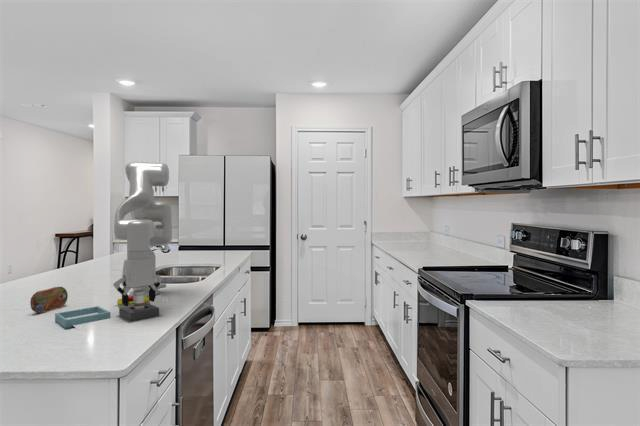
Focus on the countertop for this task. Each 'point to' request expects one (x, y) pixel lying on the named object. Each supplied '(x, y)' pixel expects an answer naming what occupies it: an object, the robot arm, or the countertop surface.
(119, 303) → the emergency button
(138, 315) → the fuse panel
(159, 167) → the robot arm
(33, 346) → the countertop surface
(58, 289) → the tin
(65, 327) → the parts tray
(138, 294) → the fuse
